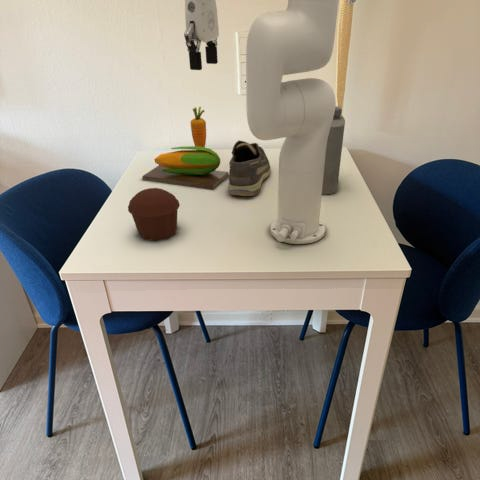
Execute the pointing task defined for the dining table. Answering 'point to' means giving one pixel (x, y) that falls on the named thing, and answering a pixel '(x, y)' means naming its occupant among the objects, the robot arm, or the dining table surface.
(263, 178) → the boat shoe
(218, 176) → the board
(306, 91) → the robot arm
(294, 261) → the dining table surface
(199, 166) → the corn
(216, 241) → the dining table surface
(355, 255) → the dining table surface
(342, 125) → the flask
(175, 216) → the muffin
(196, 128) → the carrot
